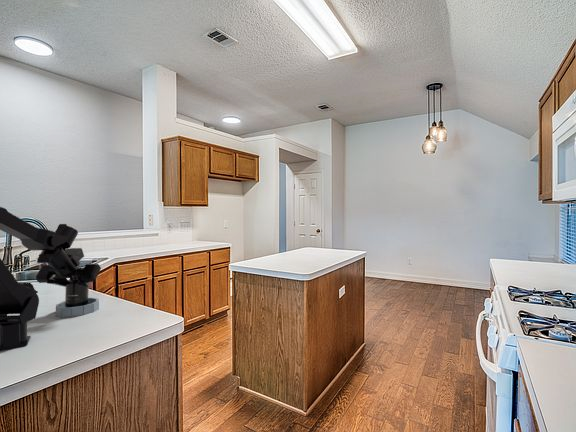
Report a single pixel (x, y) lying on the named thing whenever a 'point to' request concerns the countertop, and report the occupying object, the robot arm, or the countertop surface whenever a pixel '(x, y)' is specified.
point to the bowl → (77, 308)
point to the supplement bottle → (76, 292)
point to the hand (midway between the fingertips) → (79, 286)
